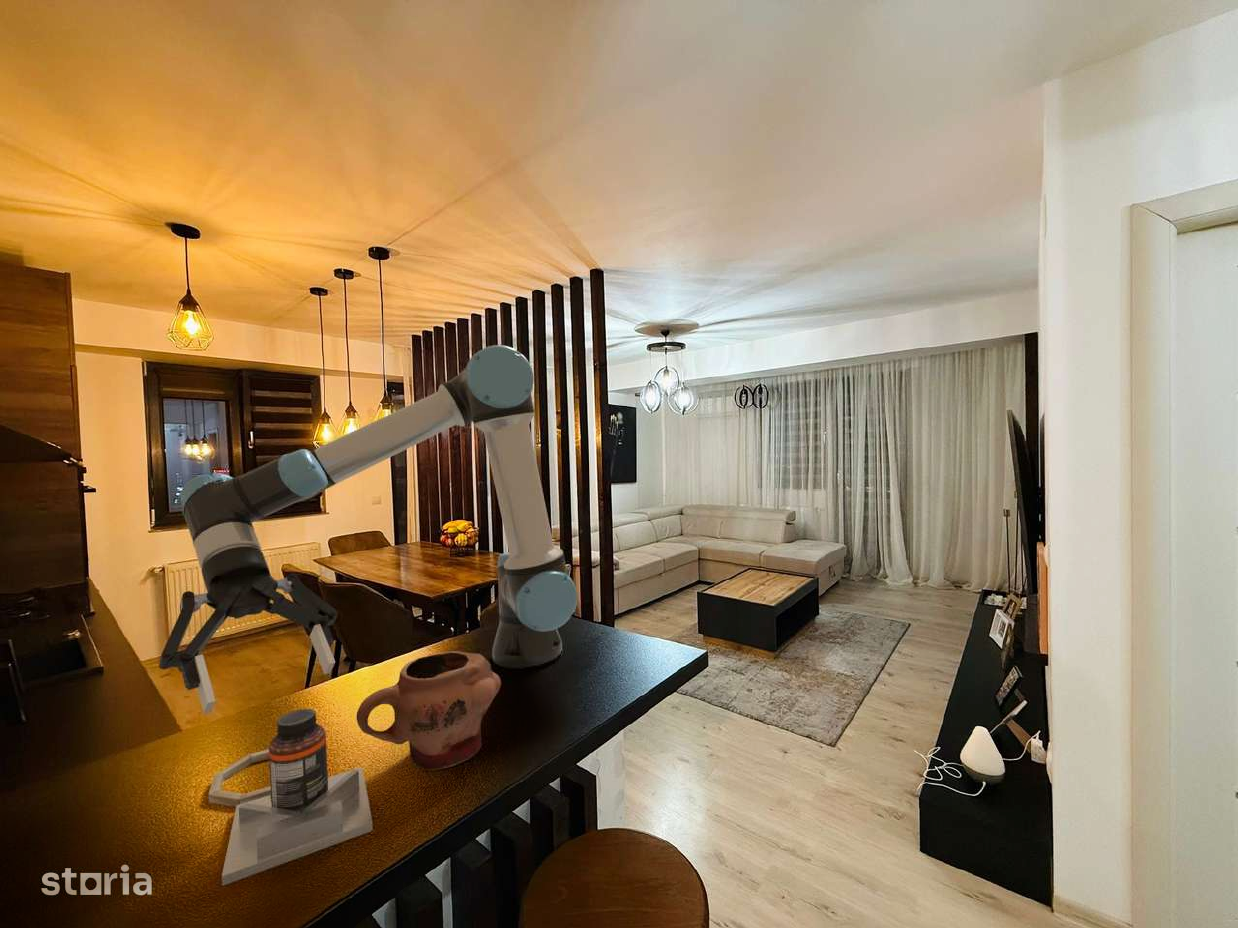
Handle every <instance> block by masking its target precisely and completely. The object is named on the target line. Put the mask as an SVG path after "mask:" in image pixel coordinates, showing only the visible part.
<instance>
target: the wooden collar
mask: <svg viewBox="0 0 1238 928" xmlns="http://www.w3.org/2000/svg"><path fill="white" fill-rule="evenodd" d="M266 760H269V748H268V749H264V750H260V751H256V752H252V753H249V754H247V755H245V756H243V757H242V758H241V759H238V760H237V761H235V762H233V763H232V764H230V765H229V766H227V767H225V768H223V769H222V770H221V771H219V772H217V773H215V774H214V775H213V778H212V781H211V785H210V788H209V792H208V803H209V804H216V805H221V806H228V807H233V806H234V808H236V806H237V805H239V804H243V803H246V802H249V801H252V800H256V799H259V798H262V797H265V796H269V795H271V786H270V785H269V786H267V787H264V788H260V789H257V790H253V791H250V792H246V793H239V792H238V793H237V792H232V791H225V790H222V787H223V783H224V781H226V780H228V779H229V778H231V777H233V776H234V775H236V774H238V773H239V772H241V771H242V770H244V769H245V768H247V767H248V766H250V765H252V764H255V763H258V762H262V761H266Z"/></svg>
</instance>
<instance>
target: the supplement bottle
mask: <svg viewBox="0 0 1238 928" xmlns="http://www.w3.org/2000/svg"><path fill="white" fill-rule="evenodd" d="M316 715H317V713H316V710H314V709H312V708H301V709H296V710H292V711H289V712H287V713H285V714H284V715H281V716H280V718H279V719H278V720H277V731H276V732H277V734H276V735H275V736H274V737H273V738H272V740H271V741H270V743H269V746H268V749H269V759H268V760H269V778H270V779H269V781H270V782H269V783H270V785H269V786H271V796H270V798H271V803H272V807H274V808H281V809H287V810H293V811H300V812H302V811H303V810H304V809H305V808H307V807H308V806H309V805H310V804H312V803H313V802H314V801H315V800H317V799H318V798H319V797H320V796H322V795H323V794H324V793H325V792H326V791H328V777H329V776H328V775H329V774H328V773H329V772H328V758H327V757H328V756H327V755H328V754H327V752H328V751H327V735H326V730H325V727H323V726H322V725H321V724H319V723H317V716H316Z"/></svg>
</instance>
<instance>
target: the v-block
mask: <svg viewBox="0 0 1238 928" xmlns="http://www.w3.org/2000/svg"><path fill="white" fill-rule="evenodd" d="M365 779H366V778H365V775H364V769H363V766H360V767H358V768H357V767H356V768H353V769H350V770H348V771H345V772H341V773H337V774H334V775H331V776H328V791H326V792H325V793H324V794H323V795H322V796H320V797H319V798H318V799H317V800H315V801H314V802H313V803H312V804H310V805H309V806H308V807H307V808H305V809H304V810H303V811H302V812H300V811H293V810H287V809H281V808H274V807H272V803H271V798H270V796H271V795H269V796H265V797H262V798H259V799H256V800H252V801H249V802H246V803H243V804H239V805H237V806H236V807H235V812H234V815H233V822H232V827H231V830H230V836H229V841H228V846H227V850H226V854H225V858H224V859H225V860H224V864H223V869H222V873H221V887H223V886H226V885H229V884H231V883H234V882H236V881H240V880H242V879H245V878H248V877H250V876H254V875H257V874H259V873H262V872H264V871H267V870H270V869H272V868H275V867H278V866H280V865H283V864H286V863H288V862H291V861H293V860H296V859H300V858H302V857H305V856H308V855H310V854H313V853H315V852H318V851H321V850H324V849H327V848H330V847H332V846H334V845H338V844H340V843H343V842H345V841H348V840H350V839H353V838H356V837H359V836H361V835H364V834H367V833H369V832H370V833H371V832H372V831H374V829H373V827H374V825H373V819H372V818H373V817H372V812H371V807H370V801H369V796H368V791H367V786H366V780H365Z"/></svg>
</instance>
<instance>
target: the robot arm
mask: <svg viewBox="0 0 1238 928" xmlns="http://www.w3.org/2000/svg"><path fill="white" fill-rule="evenodd" d="M533 371H534V370H533V368H532V367H531V364H530V362H529V360H528V359H527V357H526V356H525V355H524V354H522V353H521V352H519V351H518V350H517V349H515V348H512V347H510V346H507V345H503V344H502V345H501V344H498V345H497V344H496V345H489V346H487V347H484V348H482V349H480V350H478V351H477V352H475V353H474V354H473V355H472V357H471V358H470V359H469V361H468V362H467V365H466V367H465V368H464V369H463V370H462V371H461V372H460V373H458V375H456V376H455V377H453V378H452V379H449V380H448V381H446V382H444V383H442V384H439V386H438V390H437V391H436V392H434V393H432V394H430V395H428V396H426V397H423V398H422V399H419V400H417V401H415V402H413V403H411V404H409V405H407V406H404V407H403V408H399V410H396V411H394V412H391V413H390V414H387V415H386V416H383V417H381V418H379V419H377V420H374V421H373V422H370V423H368V424H367V425H364V426H361V427H360V428H358V429H356V430H354V431H351V432H349V433H347V434H344V435H343V436H341V437H338V438H337V439H334V440H332V441H330V442H328V443H325V444H324V445H322V446H319V447H318V448H315V449H314V450H311V451H310V450H308V449H305V448H303V449H302V448H301V449H299V450H296V451H293V452H290V453H286V454H283V455H281V456H280V457H279V458H277V459H274V460H272V461H269V462H267V463H265V464H263V465H260V466H259V467H257V468H254V469H253V470H249V471H248V472H246V473H244V474H243V473H242V474H241V475H239V476H236V477H232V476H230V475H228V474H226V473H221V472H213V473H211V474H200V475H198V476H194V477H193V478H191V479H190V480H188V481H187V482H186V483H185V484H184V485H183V486H182V489H181V491H180V501H181V505H182V506H181V507H182V515H183V518H184V519H185V522H186V525H187V528H188V531H189V533H190V537H191V540H192V544H193V545H192V546H193V547H194V549H195V554H196V557H197V561H198V562H197V563H198V565H199V567H200V569H201V576H202V579H203V582H204V585H205V588H206V591H207V592H206V593H198V594H197V593H196V594H195V593H194V592H193V591H191V590H187V591H184V592H183V593H182V596H181V600H180V604H179V615H178V617H177V619H176V622H175V623H174V626H173V628H172V631H171V632H170V634H169V637H168V639H167V641H166V644H165V646H164V647H163V650H162V652H161V655H160V659H159V663H158V668H159V669H160V670H168V669H169V668H177V670H178V672H181V675H182V679H183V684H184V687H185V688H186V690H187V691H191V690H194V689H196V690H197V693H198V698H199V701H200V704H201V709H202V712H203V715H207V714H210V713H212V712H213V710H214V707H215V703H216V697H215V693H214V691H213V687H212V683H211V679H210V676H209V672H208V668H207V665H206V662H205V657H204V654H201V652H202V651H203V650H204V649H205V647H206V646H207V644H208V643H209V642H210V640H211V639H212V637H213V636H214V635H215V633H216V632H217V631H218V629H219V628H220V627H222V625H223V624H224V623H225V622H226V620H227V619H228V618H234V619H235V620H236V619H242V618H244V617H246V616H249V615H252V616H253V615H258V614H261V613H262V612H267V613H268V614H269V613H270V614H271V615H278V616H280V617H282V618H284V619H286V620H289V621H291V622H293V623H295V624H298V625H299V626H301V627H303V628H306V629H308V630H310V631H311V633H310V634H309V638H310V641H311V643H312V646H313V649H314V651H315V653H316V656H317V659H318V662H319V664H320V666H321V669H322V672H323V674H324V675H328V674H330V673H331V671H332V669H333V668H334V666H335V663H336V661H335V658H334V655H333V653H332V650H331V648H332V646H333V644H334V638H333V636H332V633H331V631H330V627H329V626H332V625H334V623H335V621H336V619H337V618H338V617H337V616H338V614H339V612H338V610H337V609H335V608H334V607H333V606H332V605H330V604H329V603H327V602H326V601H325V600H324V599H322V598H321V597H320V596H319V595H317V594H316V593H315V591H312V589H310V588H309V587H308V586H306V585H305V584H303V582H302V581H301V579H300V577H299V575H298V574H297V573H296V572H290V573H289V574H288V575H287V577H283V578H280V579H277V580H276V579H275V578H274V577H273V576H272V575H271V571H270V568H269V566H268V564H267V560H266V558H265V557H266V556H265V555H264V553H263V552H262V547H261V543H260V542H259V539H258V536H257V534H256V531H255V528H254V525H253V523H254V522H256V521H259V520H261V519H264V518H265V517H267V516H269V515H272V514H273V513H275V512H279V511H280V510H282V509H284V508H286V507H290V506H291V505H293V504H296V503H298V502H302V501H303V502H304V501H308V500H309V499H311V498H314V497H315V496H317V495H318V494H319V493H321V492H324V491H325V490H327V489H330V488H332V487H334V486H335V485H337V484H339V483H341V482H344V481H345V480H347V479H349V478H351V477H353V476H355V475H357V474H360V473H362V472H363V471H365V470H367V469H369V468H371V467H373V466H375V465H377V464H379V463H382V462H384V461H385V460H388V459H390V458H391V457H393V456H395V455H397V454H399V453H402V452H404V451H405V450H408V449H410V448H411V447H414V446H416V445H418V444H419V443H422V442H424V441H426V440H428V439H430V438H432V437H434V436H436V435H438V434H441V433H442V432H444V431H446V430H449V428H452V427H454V426H460V427H462V428H463V427H466V426H468V425H469V424H471V423H473V426H474V427H475V428H476V429H479V431H482V433H483V435H484V438H485V439H484V441H485V444H486V449H487V454H488V459H489V464H490V468H491V472H492V479H493V483H494V486H495V491H496V496H497V500H498V506H499V512H500V515H501V519H502V524H503V530H504V534H505V539H506V544H507V549H508V552H504V553H501V554H499V556H498V558H497V566H496V570H497V578H498V579H497V581H498V585H497V586H498V612H499V615H498V617H499V625H498V627H497V631H496V634H495V638H494V642H493V645H492V649H491V651H492V652H491V655H492V656H491V657H492V662H493V663H494V664H496V665H497V666H499V667H503V668H507V669H525V668H524V667H531V666H536V665H540V664H543V663H546V662H548V661H550V660H552V659H554V658H556V657H557V656H558V655H559V654H560V653H561V651H562V652H563V641H562V639H561V636H560V633H559V631H558V629H559V628H562V626H564V625H565V624H566V623H567V622H568V621H569V620H570V619H571V617H572V615H573V614H574V613H575V611H576V609H577V608H576V607H577V604H578V601H579V600H578V598H579V597H578V595H579V594H578V590H577V586H576V585H575V583H574V581H573V579H572V578H571V576H569V575H568V571H567V570H568V569H567V565H566V561H565V556H564V551H563V550H562V549H561V548H559V547H558V546H556V545H555V544H554V541H553V536H552V531H551V526H550V521H549V520H550V519H549V517H548V515H549V514H548V511H547V507H546V501H545V498H544V492H543V491H544V490H543V486H542V481H541V477H540V473H539V466H538V464H537V463H538V461H537V457H536V452H535V448H534V443H533V438H532V432H531V428H530V423H531V421H532V420H533V418H534V416H535V414H536V413H535V408H534V403H533V398H532V391H533V388H534V381H535V379H534V377H535V376H534V372H533ZM278 590H281V591H283V594H282V593H280V592H278ZM285 594H288V595H289V596H290V597H291V598H292V599H293V600H294V601H293V600H290V599H288V598H286V597H285ZM271 601H272V602H271ZM295 601H296V602H295ZM204 604H206V605H207V606H209V607H210V608H212V609H214V611H213V612H212V614H211V616H210V617H209V618H208V619H207V620H206V622H205V623H204V624H203V625H202V627H201V628H200V630H199V631H198V632H197V633H196V634H195V636H194V637H193V638H192V639H191V641H190V642H189V644H188V645H187V646H186V647H185V649H184V650H183V651H179V649H180V647H181V644H182V642H183V639H184V637H185V635H186V632H187V630H188V628H189V625H190V623H191V621H192V617H193V613H197V611H199V610H200V609H201V606H202V605H204ZM531 668H532V667H531Z"/></svg>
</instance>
